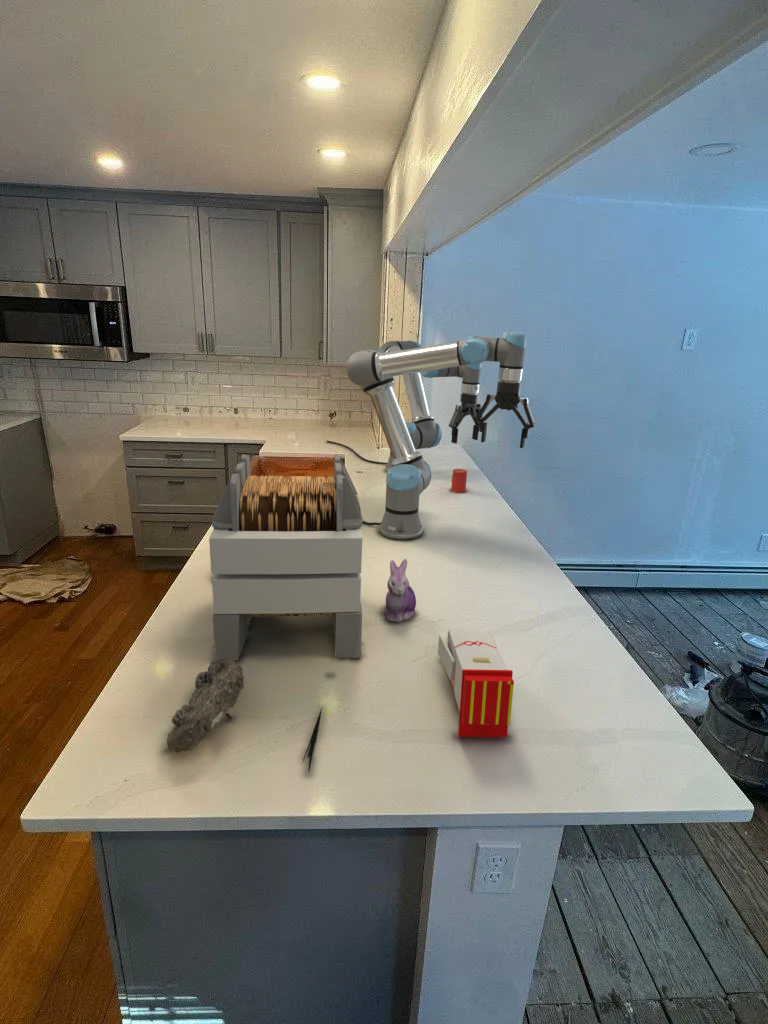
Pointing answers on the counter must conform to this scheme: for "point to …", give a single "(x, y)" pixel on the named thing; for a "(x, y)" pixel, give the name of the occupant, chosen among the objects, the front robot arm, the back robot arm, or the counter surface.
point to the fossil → (206, 705)
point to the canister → (459, 480)
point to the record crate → (286, 555)
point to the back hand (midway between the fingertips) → (464, 441)
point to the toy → (478, 682)
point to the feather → (313, 740)
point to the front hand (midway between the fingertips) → (502, 444)
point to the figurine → (399, 594)
